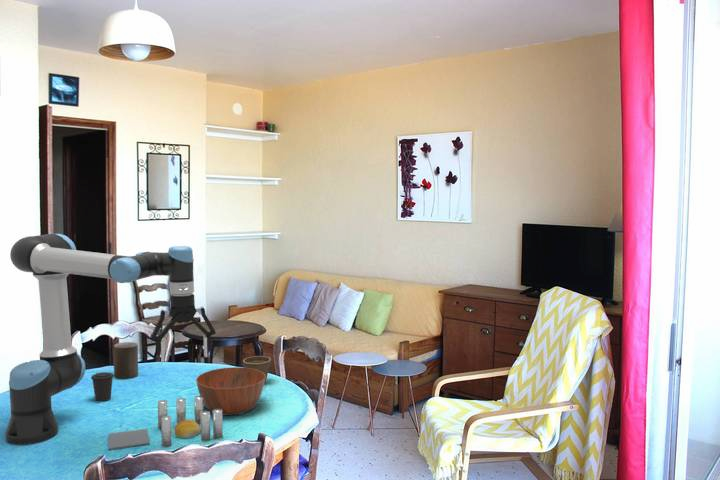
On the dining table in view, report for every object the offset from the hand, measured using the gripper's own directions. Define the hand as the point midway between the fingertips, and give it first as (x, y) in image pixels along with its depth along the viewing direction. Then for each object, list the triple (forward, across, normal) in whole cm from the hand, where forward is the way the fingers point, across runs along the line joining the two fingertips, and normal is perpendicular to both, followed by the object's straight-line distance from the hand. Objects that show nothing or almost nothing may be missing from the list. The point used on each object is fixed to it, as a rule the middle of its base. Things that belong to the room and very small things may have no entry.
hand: (184, 358), depth 200 cm
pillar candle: (+25, -17, +72) cm, 78 cm away
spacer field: (+25, +1, +1) cm, 25 cm away
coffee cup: (+25, -26, +44) cm, 57 cm away
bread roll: (+26, 0, +1) cm, 26 cm away
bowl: (+26, +18, +18) cm, 36 cm away
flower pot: (+26, +33, +43) cm, 60 cm away
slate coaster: (+25, -18, +2) cm, 31 cm away
